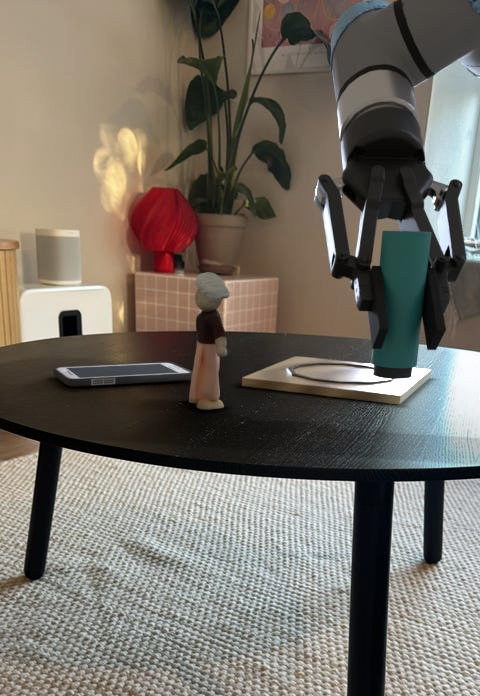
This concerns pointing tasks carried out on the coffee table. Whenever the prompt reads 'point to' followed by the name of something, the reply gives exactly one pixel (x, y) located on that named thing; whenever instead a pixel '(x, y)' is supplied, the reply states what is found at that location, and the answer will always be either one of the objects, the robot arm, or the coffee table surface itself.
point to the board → (335, 380)
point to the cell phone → (121, 374)
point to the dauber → (402, 301)
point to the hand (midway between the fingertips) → (408, 338)
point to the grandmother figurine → (208, 342)
